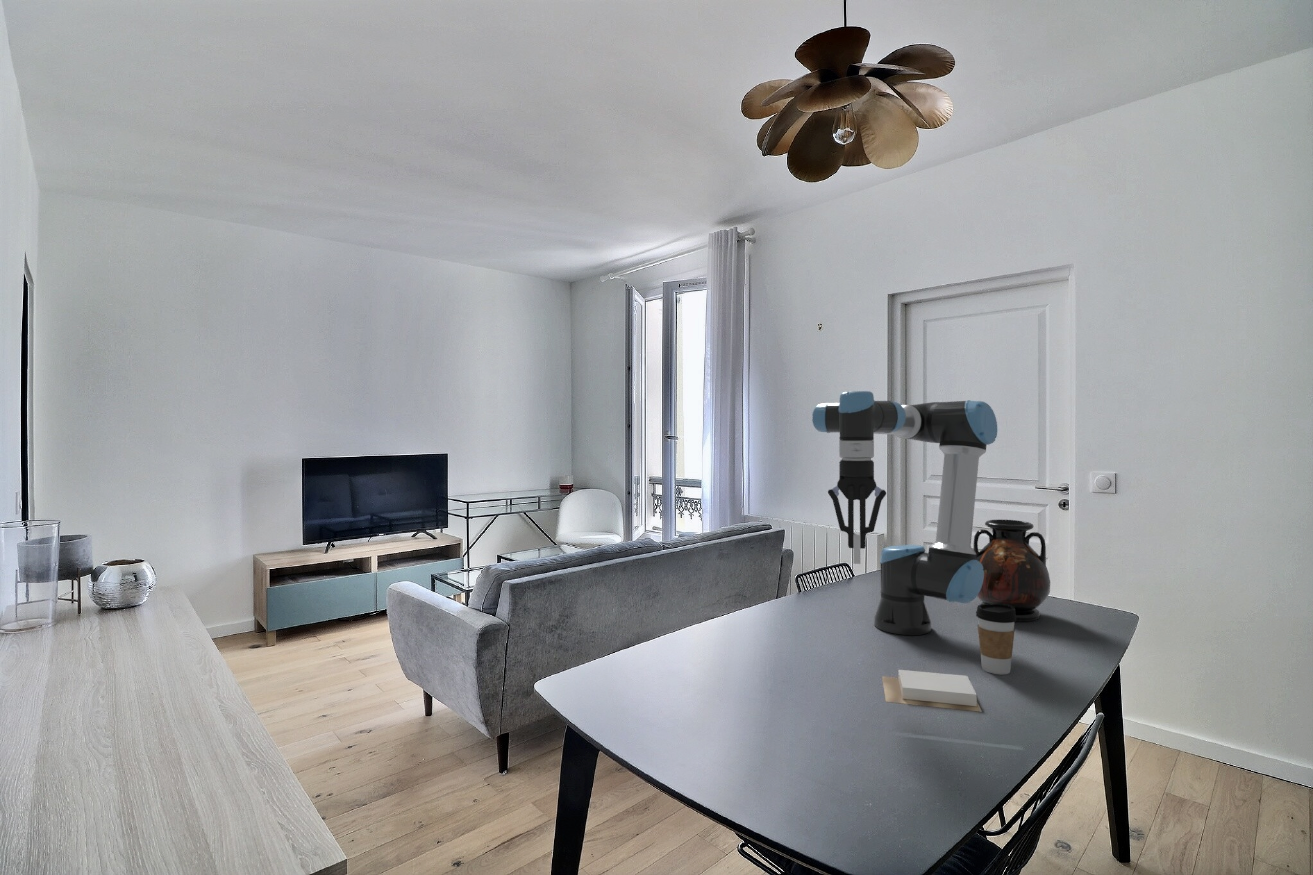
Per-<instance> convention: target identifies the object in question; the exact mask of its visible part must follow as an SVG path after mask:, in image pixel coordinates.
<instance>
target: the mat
mask: <svg viewBox="0 0 1313 875" xmlns="http://www.w3.org/2000/svg"><path fill="white" fill-rule="evenodd" d="M881 679H882V680H881V681H882V686H883V690H884V691H883V692H884V699H885V702H886V703H891V704H893V703H895V704H902V705H903V704H904V705H911V706H912V705H914V706H921V707H931V708H939V709H940V708H942V709H952V710H960V711H962V710H963V711H969V712H971V711H972V712H980V713H982V712H983V711H982V709H981V706H980V705H979V703H978V701H977V706H968V705H959V704H949V703H939V702H929V701H920V700H910V699H902V694H901V690H900V685H899V680H898V677H894V676H884V675H881Z"/></svg>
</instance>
